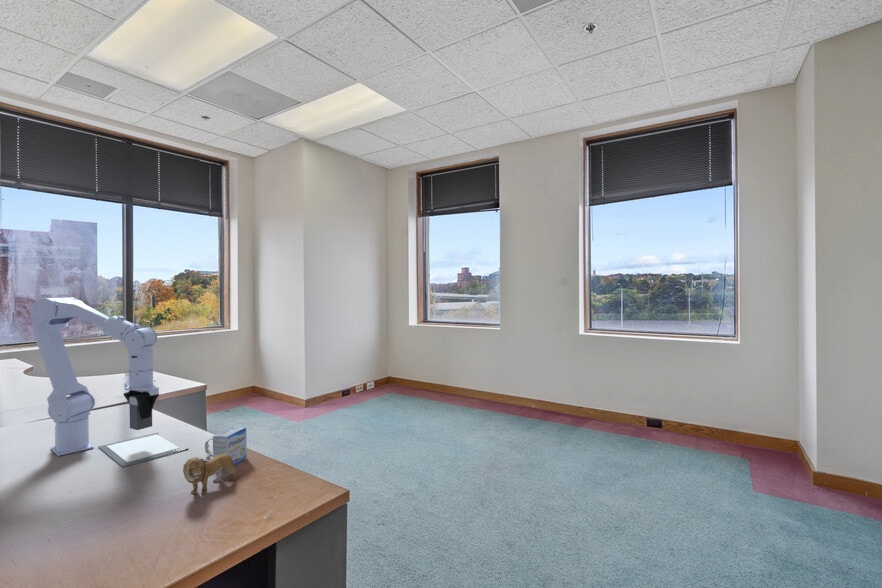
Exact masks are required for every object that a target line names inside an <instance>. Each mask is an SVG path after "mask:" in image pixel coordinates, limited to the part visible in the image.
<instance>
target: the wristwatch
mask: <svg viewBox="0 0 882 588" xmlns="http://www.w3.org/2000/svg"><path fill="white" fill-rule="evenodd" d="M211 440H213V437H211V438H209V439H208V440H207V441H205V443H204V451H205V453H206V454H207V455H208V456H210V455H212V457H213V451H210V449H209V448H210V444H209V442H210V441H211Z"/></svg>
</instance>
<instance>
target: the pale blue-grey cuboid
mask: <svg viewBox="0 0 882 588" xmlns="http://www.w3.org/2000/svg"><path fill="white" fill-rule="evenodd" d="M129 404H130V405H129ZM128 405H129V429H132V430H134V431H140V430H143V429H148V428H151V427H153V412H152V413H151V416H150V417H149V418H145V419H141V416H140V409H139V405H138V402H137V400H136V398H135V396H131V397H129V403H128Z"/></svg>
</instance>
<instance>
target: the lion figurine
mask: <svg viewBox="0 0 882 588" xmlns="http://www.w3.org/2000/svg"><path fill="white" fill-rule="evenodd" d="M224 470H225V471H226V472H228V473H231V474H232V476H231V477H230V480H232V481H235V480H236V479H237V470H236V468H235V466H234V465H233V461H232V458H231V457H230V456H229V455H227V454H222V455H218V456H216V457H215V458H213V457H212V459H210V460H209V459H208V460H205V459H204V458H199V457H191V458H189V459H187V461H185V463H184V464H183V469H182V473H183V477H184V478H185V480H186V481H187V482H188V483H190V484H191V485H192V488H193V489H192V490H191V491H190V494H192V495H195V494H196V493H198V489H199V483H200V482H201V485H202V488H201V493H200V494H201V496H202V495H204V496H205V495H207V494H208V481H209V480H208V479H209V478H210V477H212V476H214V475H215V474H217V477H216V478H214V479H213V481H212V482H213V483H218V482H219V481H220V480H221V478H222V476H223V475H224V473H223V471H224Z"/></svg>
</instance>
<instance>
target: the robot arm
mask: <svg viewBox="0 0 882 588" xmlns="http://www.w3.org/2000/svg"><path fill="white" fill-rule="evenodd" d="M29 314H30V316H31V320H32V332H33V333H32V334H33V336H34V339H35V342H36V344H37V347H38V350H39V353H40V356H41V358H42V362H43V364H44V367H45V369H46V373H47V375H48V378H49V381H50V383H51V387H52V389H53V390H52V391H51V393H50V394H49V395H48V397H46V400H47V404H48V407H47V413H48V416H49V417H50V419H51V420H53V423H55V426H54V445H52V446H50V449H51V450H52V451H53V453H54V454H55V455H56V456H57V457H60V456H64V455H68V454H69V455H70V454H73V453H77V452H82V451H85V450H91V449H94V445H93V444H92V443H90V438H89V435H90V433H89V431H90V430H89V429H90V427H89V425H90V424H89V423H90V422H89V420H90V419H89V416H90V415H91V411H92V410H94V407H95V405H96V399H95V397H94V396H93V395H92V394H91V392H90V391H89V389H88V387H87V386H86V385H84V384H82V383H80V382H78V379H77V376H76V373H75V370H74V368H73V365H72V362H71V360H70V359H71V358H70V356H69V354H68V351H67V348H66V345H65V342H64V340H63V337H62V334H61V332H62V330H63V329H64V327H66V325H67V324H69V323H70V322H72V320H74V319H75V318H76V319H80V320H82V321H85V322H86V323H89V324H92V325H95V326H97V327H100V328H101V330H102V333H103V334H104V335H106V336H108V337H111V338H113V339H115V340H117V341H120V342H122V343H123V344H124V347H126V349H127V354H128V382H124V384H123V386H124V391H126V392H123V396H124V398H125V399H126V401H127V402H128V405H129V406H130V404H129V397H131V396H135V398H136V400H137V402H138V405H139V409H140V416H141V419H145V418H149V417H150V416H151V413H152V414H153V408H154V405H155V404H156V401H157V399H158V397H159V396H160V387H158V386H157V385H156V384H155V383H154V350H153V349H154V347H153V346H154V345H155V344H156V342H157V340H158V335H157V332H156V331H155V330H154V329H153V328H151V327H148V326H145V327H141V325H140V324H138V323H133V322H131V321H128V319H127V320H126V317H125V316H123V315H113V316H111V317H110V316H108V315H106V314H105V313H102V312H100V311H99V310H97V309H95V308H93V307H91V306H89V305H87V304H86V303H84V302H83V301H82V300H81V299H76V297H72V296H71V297H70V296H66V297H54V298H53V297H49V298H48V297H40V298H38V299H37V300H35V301H34V303H33V304H32V306H31V307H30V308H29ZM127 391H128V392H127Z"/></svg>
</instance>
